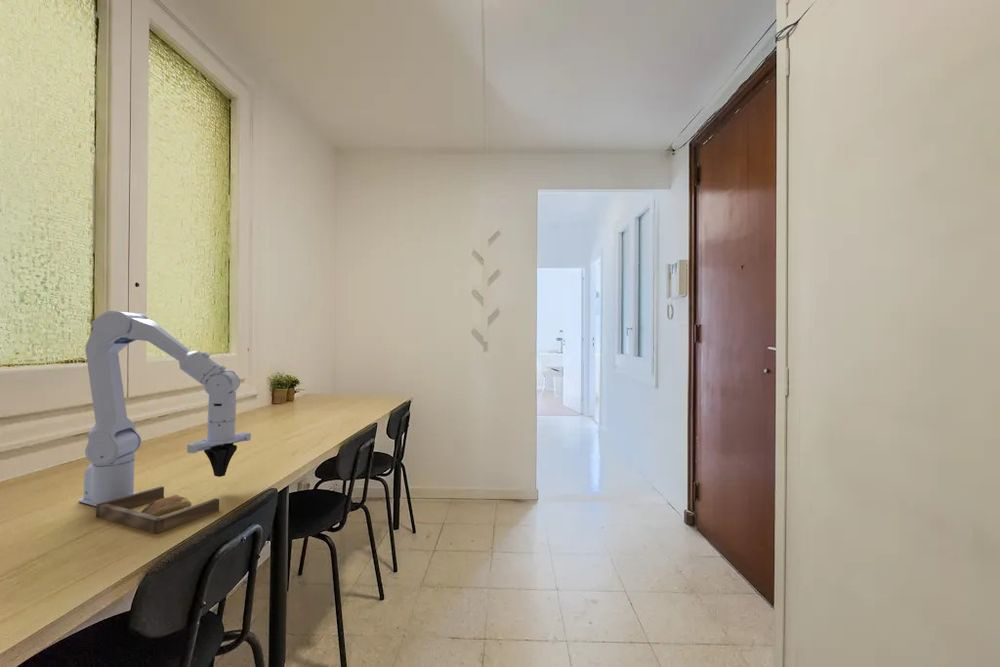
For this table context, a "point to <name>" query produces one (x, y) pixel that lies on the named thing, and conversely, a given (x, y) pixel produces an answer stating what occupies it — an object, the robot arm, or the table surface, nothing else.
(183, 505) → the shard
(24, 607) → the table surface
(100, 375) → the robot arm
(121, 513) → the frame
